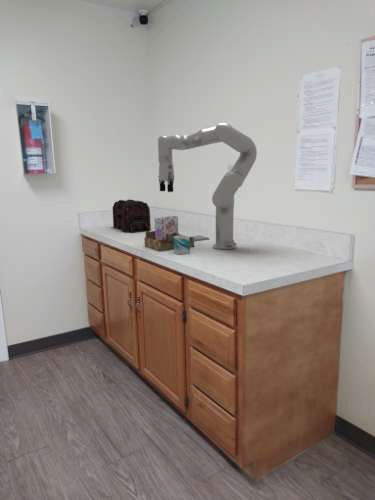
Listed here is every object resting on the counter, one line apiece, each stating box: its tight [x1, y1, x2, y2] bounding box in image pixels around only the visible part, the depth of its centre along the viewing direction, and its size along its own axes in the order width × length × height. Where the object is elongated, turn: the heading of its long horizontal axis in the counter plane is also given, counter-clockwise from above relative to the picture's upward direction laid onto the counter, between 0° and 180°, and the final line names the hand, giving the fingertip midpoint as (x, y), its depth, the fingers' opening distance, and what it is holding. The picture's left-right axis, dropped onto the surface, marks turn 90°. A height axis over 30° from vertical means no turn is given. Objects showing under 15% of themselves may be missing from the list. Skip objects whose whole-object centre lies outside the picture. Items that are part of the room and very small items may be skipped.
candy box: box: [154, 215, 179, 240], centre depth 223 cm, size 14×6×16 cm, turn 143°
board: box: [190, 235, 210, 242], centre depth 242 cm, size 11×19×1 cm, turn 122°
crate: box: [112, 199, 152, 234], centre depth 288 cm, size 35×19×21 cm, turn 28°
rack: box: [143, 230, 195, 252], centre depth 222 cm, size 18×22×8 cm
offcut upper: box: [166, 234, 182, 244], centre depth 216 cm, size 3×8×4 cm, turn 122°
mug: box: [174, 235, 191, 255], centre depth 207 cm, size 8×12×8 cm
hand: (166, 191), depth 220 cm, fingers open, 9 cm apart
